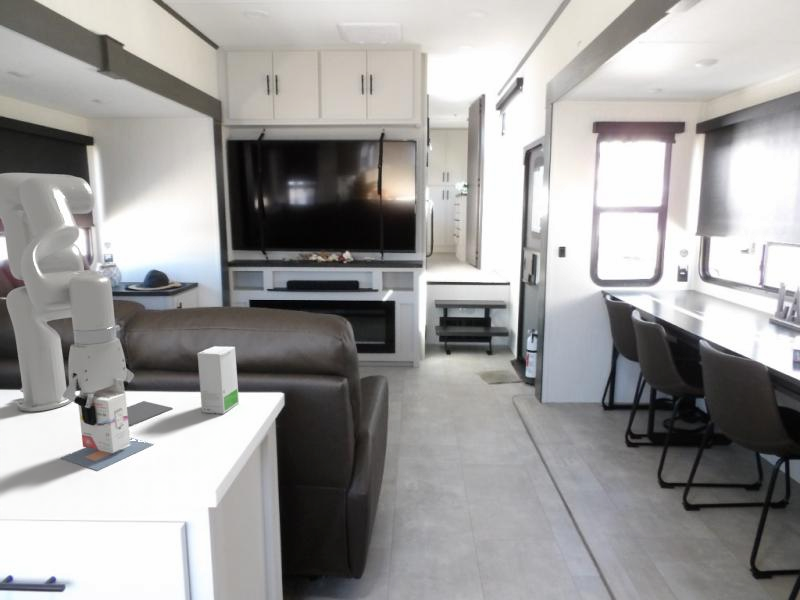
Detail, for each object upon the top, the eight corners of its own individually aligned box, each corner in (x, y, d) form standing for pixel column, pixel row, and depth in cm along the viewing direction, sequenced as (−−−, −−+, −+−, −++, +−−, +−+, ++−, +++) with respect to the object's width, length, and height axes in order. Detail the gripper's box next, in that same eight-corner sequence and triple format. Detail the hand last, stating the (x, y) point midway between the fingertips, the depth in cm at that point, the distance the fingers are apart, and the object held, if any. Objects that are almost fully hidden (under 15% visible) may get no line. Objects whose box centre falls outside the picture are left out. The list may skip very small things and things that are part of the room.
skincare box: (223, 415, 133) (219, 354, 130) (199, 413, 134) (195, 353, 131) (240, 402, 141) (236, 346, 138) (217, 401, 142) (213, 344, 139)
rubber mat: (101, 418, 131) (101, 416, 131) (143, 402, 142) (143, 401, 142) (131, 426, 126) (130, 424, 126) (172, 408, 137) (172, 407, 137)
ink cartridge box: (81, 447, 113) (73, 381, 110) (101, 438, 117) (94, 374, 114) (112, 454, 110) (105, 386, 107) (131, 444, 114) (125, 378, 112)
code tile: (60, 458, 110) (60, 457, 110) (117, 434, 122) (117, 433, 122) (97, 470, 105) (97, 470, 105) (153, 444, 116) (153, 444, 116)
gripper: (121, 324, 118) (128, 402, 122) (40, 342, 103) (51, 430, 107) (144, 328, 115) (151, 407, 118) (64, 347, 100) (75, 438, 103)
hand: (103, 417), depth 112 cm, fingers closed on ink cartridge box, 5 cm apart
